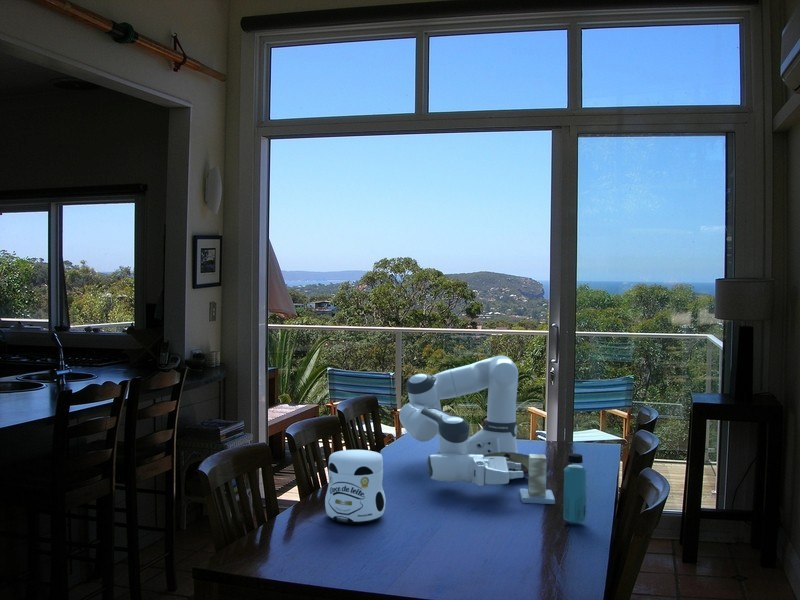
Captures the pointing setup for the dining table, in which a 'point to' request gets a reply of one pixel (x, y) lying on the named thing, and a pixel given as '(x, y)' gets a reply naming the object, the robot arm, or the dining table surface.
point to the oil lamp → (514, 460)
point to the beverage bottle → (575, 490)
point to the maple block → (537, 475)
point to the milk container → (355, 486)
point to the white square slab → (537, 497)
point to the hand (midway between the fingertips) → (522, 470)
